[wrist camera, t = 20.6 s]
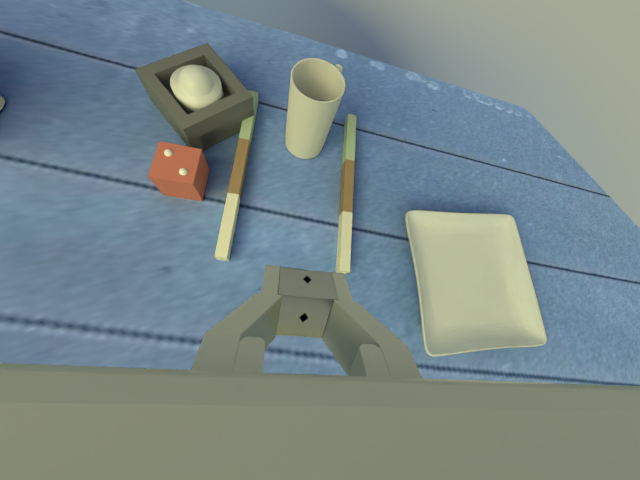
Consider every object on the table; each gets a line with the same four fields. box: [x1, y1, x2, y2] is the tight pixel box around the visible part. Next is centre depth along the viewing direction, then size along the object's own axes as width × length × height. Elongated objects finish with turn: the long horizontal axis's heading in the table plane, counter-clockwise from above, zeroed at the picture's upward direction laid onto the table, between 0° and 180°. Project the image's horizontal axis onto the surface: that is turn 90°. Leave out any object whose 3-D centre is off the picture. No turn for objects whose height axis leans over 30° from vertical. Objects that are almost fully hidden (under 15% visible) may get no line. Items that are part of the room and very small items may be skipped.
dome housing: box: [135, 43, 254, 151], centre depth 36 cm, size 11×11×6 cm
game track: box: [215, 90, 356, 274], centre depth 38 cm, size 27×18×2 cm, turn 175°
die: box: [148, 141, 210, 201], centre depth 33 cm, size 5×5×5 cm
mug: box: [285, 58, 345, 159], centre depth 36 cm, size 10×7×12 cm, turn 144°
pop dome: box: [170, 65, 224, 114], centre depth 34 cm, size 6×6×4 cm
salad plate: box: [405, 210, 547, 356], centre depth 39 cm, size 21×21×3 cm
